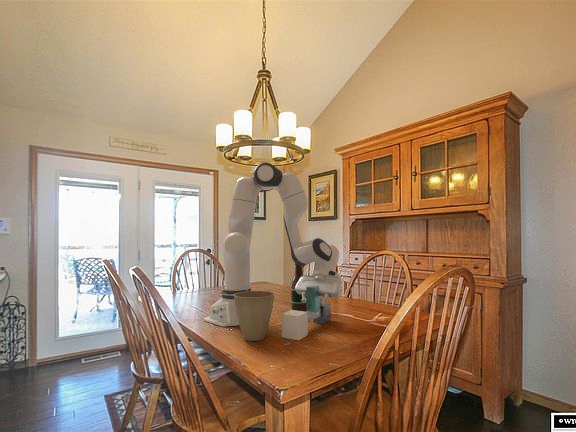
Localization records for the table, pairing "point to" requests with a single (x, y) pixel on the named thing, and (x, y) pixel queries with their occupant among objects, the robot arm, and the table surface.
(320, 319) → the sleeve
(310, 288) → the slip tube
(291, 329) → the socket block
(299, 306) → the beer bottle
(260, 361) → the table surface
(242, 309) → the plant pot
